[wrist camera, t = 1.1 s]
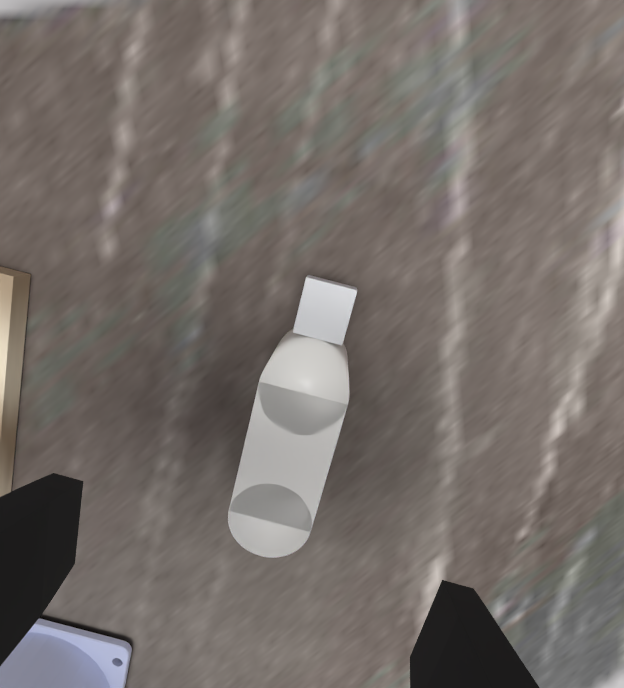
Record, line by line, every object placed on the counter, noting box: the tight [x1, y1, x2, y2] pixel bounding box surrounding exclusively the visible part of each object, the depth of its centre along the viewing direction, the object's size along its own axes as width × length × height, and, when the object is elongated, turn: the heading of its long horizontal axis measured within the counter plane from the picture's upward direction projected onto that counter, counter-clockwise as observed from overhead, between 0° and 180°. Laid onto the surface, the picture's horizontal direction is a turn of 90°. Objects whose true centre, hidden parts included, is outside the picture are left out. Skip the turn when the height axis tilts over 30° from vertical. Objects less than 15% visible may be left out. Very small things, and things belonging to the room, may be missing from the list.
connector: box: [228, 275, 357, 558], centre depth 17 cm, size 10×3×4 cm, turn 166°
